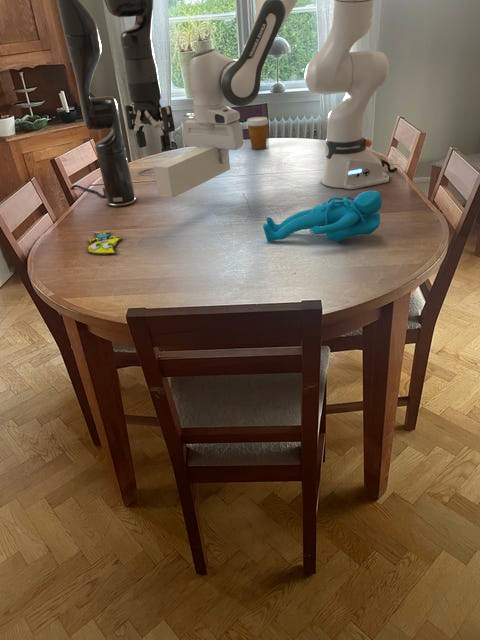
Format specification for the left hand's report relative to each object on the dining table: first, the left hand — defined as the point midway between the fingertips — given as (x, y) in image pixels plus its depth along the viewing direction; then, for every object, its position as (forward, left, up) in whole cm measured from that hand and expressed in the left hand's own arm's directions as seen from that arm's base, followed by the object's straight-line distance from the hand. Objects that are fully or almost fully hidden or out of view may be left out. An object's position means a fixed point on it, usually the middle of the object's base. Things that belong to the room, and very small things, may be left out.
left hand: (154, 148), depth 125 cm
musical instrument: (-60, +36, -24) cm, 74 cm away
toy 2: (+35, +25, -24) cm, 50 cm away
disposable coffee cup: (-53, +80, -24) cm, 99 cm away
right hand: (-7, +23, -10) cm, 26 cm away
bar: (-4, +14, -13) cm, 20 cm away
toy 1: (-8, -17, -24) cm, 30 cm away
